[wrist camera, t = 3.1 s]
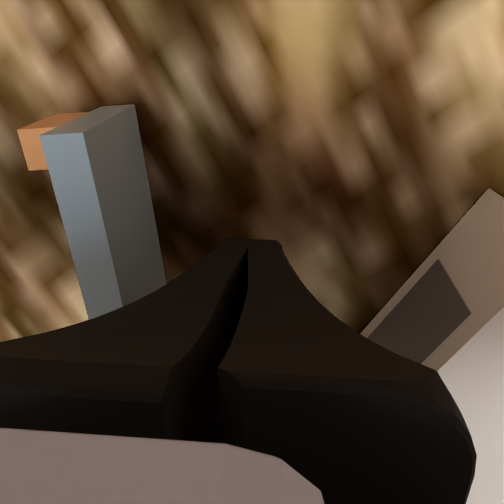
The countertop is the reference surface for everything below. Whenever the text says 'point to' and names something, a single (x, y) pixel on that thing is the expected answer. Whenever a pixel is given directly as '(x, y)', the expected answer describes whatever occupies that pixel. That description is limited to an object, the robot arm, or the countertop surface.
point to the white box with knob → (460, 331)
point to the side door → (101, 201)
